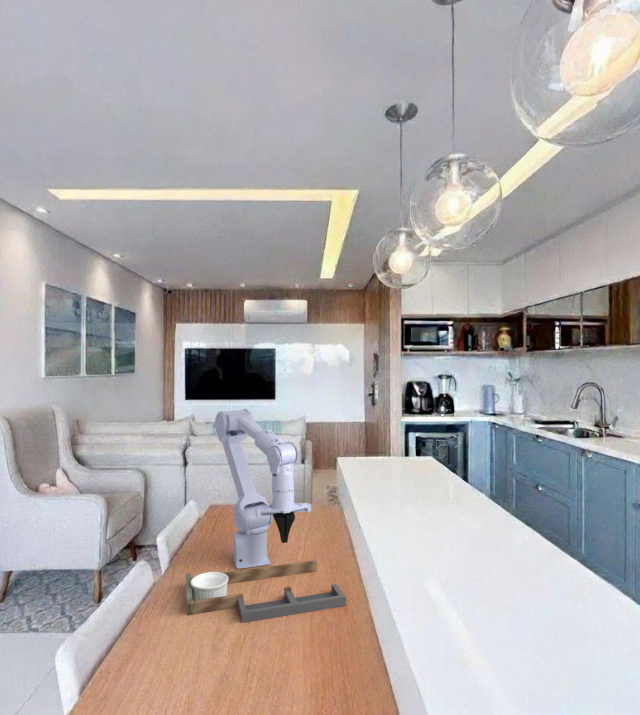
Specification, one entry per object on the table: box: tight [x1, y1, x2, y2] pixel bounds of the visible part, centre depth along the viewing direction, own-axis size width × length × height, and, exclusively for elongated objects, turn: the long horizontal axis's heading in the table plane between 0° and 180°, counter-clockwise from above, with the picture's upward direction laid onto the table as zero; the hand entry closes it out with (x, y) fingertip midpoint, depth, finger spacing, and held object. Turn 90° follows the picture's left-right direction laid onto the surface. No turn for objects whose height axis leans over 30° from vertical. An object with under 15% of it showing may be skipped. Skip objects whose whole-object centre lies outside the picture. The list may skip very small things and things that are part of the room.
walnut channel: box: [185, 559, 318, 616], centre depth 123 cm, size 34×14×4 cm, turn 106°
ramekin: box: [191, 571, 228, 601], centre depth 120 cm, size 9×9×4 cm
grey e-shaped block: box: [237, 583, 347, 624], centre depth 115 cm, size 24×7×2 cm, turn 106°
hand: (284, 541), depth 130 cm, fingers closed
